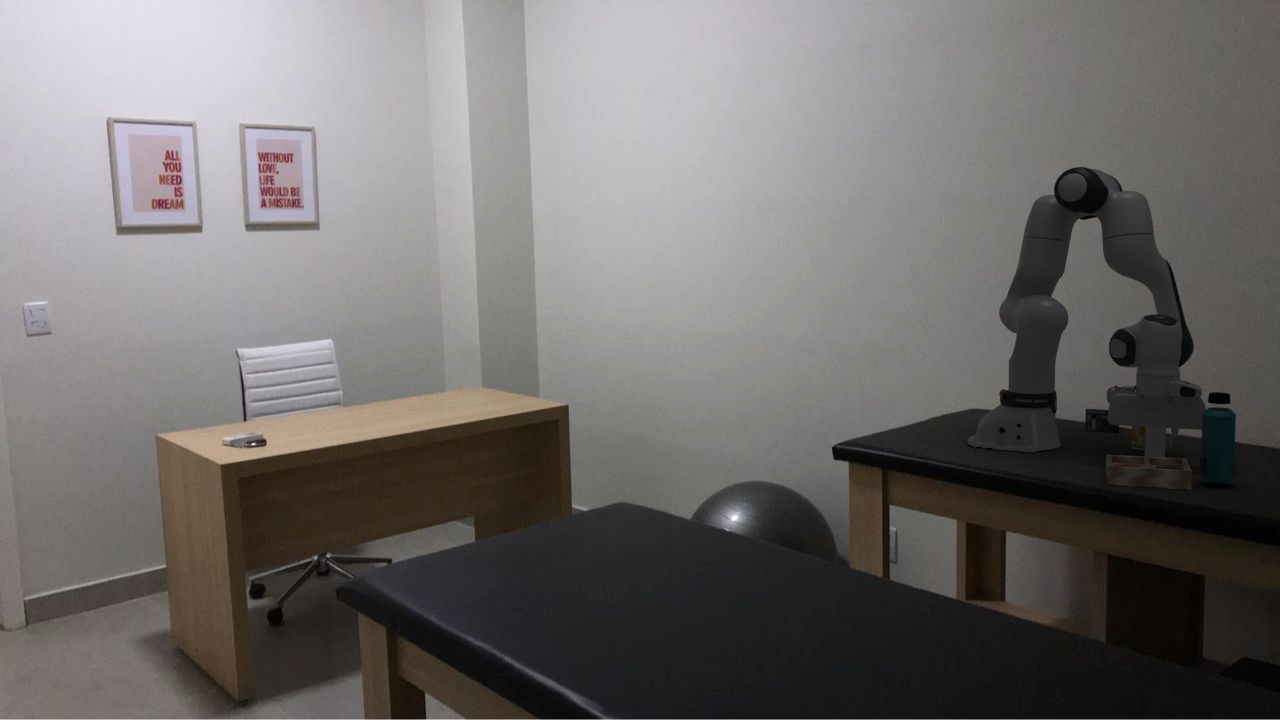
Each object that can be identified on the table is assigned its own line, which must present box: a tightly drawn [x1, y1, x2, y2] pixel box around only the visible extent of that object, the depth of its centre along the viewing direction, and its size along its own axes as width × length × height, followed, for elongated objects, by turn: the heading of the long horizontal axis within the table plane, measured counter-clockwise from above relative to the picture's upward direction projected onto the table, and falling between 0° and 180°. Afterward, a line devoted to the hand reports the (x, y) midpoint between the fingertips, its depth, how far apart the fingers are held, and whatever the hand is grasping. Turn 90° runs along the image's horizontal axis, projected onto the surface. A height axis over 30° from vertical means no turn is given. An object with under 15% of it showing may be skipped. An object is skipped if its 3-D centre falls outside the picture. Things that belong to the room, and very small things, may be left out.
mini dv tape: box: [1084, 408, 1120, 434], centre depth 267 cm, size 8×2×6 cm, turn 61°
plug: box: [1144, 424, 1167, 458], centre depth 226 cm, size 4×4×9 cm
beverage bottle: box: [1199, 391, 1237, 483], centre depth 209 cm, size 6×7×20 cm
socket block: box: [1105, 454, 1193, 491], centre depth 216 cm, size 16×12×4 cm
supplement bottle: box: [1130, 426, 1146, 452], centre depth 245 cm, size 5×5×10 cm
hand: (1155, 446), depth 226 cm, fingers closed on plug, 4 cm apart
